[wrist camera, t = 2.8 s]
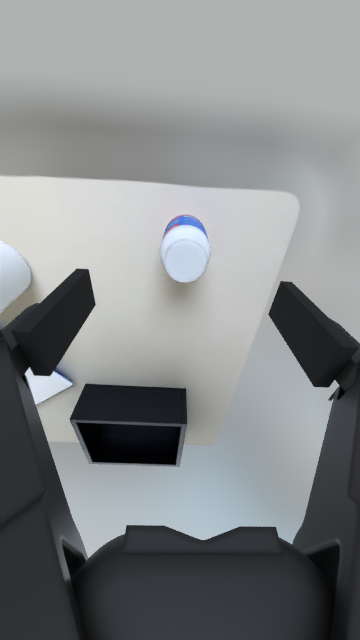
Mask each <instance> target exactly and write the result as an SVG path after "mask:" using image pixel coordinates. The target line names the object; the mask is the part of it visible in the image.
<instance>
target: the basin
mask: <svg viewBox="0 0 360 640" xmlns="http://www.w3.org/2000/svg"><path fill="white" fill-rule="evenodd" d="M70 422H71V424H72V426H73V428H74V431H75V433H76V435H77V437H78V440H79V442H80V444H81V446H82V449H83V451H84V453H85V456H86V458H87V460H88V462H89V464H112V465H113V464H114V465H143V466H145V465H146V466H173V467H174V466H176V467H179V466H180V461H181V455H182V450H183V444H184V438H185V432H186V426H187V407H186V389H182V388H161V387H139V386H118V385H97V384H85V386H84V389H83V391H82V393H81V395H80V397H79V400H78V402H77V404H76V406H75V408H74V411H73V413H72V415H71V417H70Z"/></svg>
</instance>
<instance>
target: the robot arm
mask: <svg viewBox="0 0 360 640" xmlns="http://www.w3.org/2000/svg"><path fill="white" fill-rule="evenodd" d="M94 306H95V300H94V294H93V289H92V284H91V279H90V274H89V269H76V270H75V271H74V272H73V273H72V274H71V275H70V276H69V277H67V278H66V279H65V280H64V281H63V282H62V283H61V284H60V285H59V286H58V287H57V288H56V289H55V290H54V291H53V292H51V293H50V294H49V295H48V296H47V297H46V298H45V299H44V300H43V301H42V302H41V303H36V304H34V305H32V306H30V307H28V308H26V309H25V310H24V311H23V312H22V313H21V314H20V315H18V316H17V317H16V318H15V320H13V321H12V322H10V323H9V324H8V325H7V326H6V327H5V328H4V329H2V330H0V640H360V343H358V342H357V341H356V340H355V339H354V338H353V337H352V336H350V334H349V333H348V332H347V331H345V329H344V328H343V327H342V326H340V325H339V324H338V323H336V322H335V321H333V320H331V319H329V318H328V317H327V316H326V315H325V314H324V313H323V312H322V311H321V310H320V309H319V308H318V307H317V306H316V305H315V304H314V303H313V302H312V301H310V300H309V299H308V298H307V297H306V296H305V295H304V294H303V293H302V292H301V291H300V290H299V289H298V288H297V287H296V286H295V285H294V284H293V283H292V282H284V281H281V282H280V285H279V288H278V290H277V293H276V295H275V298H274V301H273V303H272V306H271V309H270V311H269V316H270V318H271V319H272V321H273V322H274V324H275V326H276V327H277V329H278V330H279V332H280V334H281V335H282V337H283V338H284V340H285V341H286V343H287V345H288V346H289V348H290V349H291V351H292V353H293V354H294V356H295V357H296V359H297V360H298V362H299V364H300V365H301V367H302V368H303V370H304V372H305V373H306V375H307V376H308V378H309V379H310V381H311V383H312V384H313V386H314V387H329V386H330V385H331V384H332V382H333V381H334V380H336V381H337V383H338V384H339V385H340V386H339V387H338V388H337V389H336V391H335V392H334V393H333V394H332V395H331V397H330V398H329V400H330V401H331V400H332V399H333V404H332V408H331V412H330V416H329V420H328V424H327V429H326V432H325V436H324V440H323V444H322V449H321V453H320V457H319V461H318V465H317V469H316V473H315V477H314V482H313V486H312V489H311V494H310V498H309V502H308V506H307V510H306V514H305V518H304V521H303V523H302V526H301V527H300V529H299V531H298V532H297V534H296V536H295V538H294V541H293V544H290V543H288V542H287V541H284V540H283V539H281V538H279V537H278V533H277V530H276V527H238V528H235V529H233V530H230V531H228V532H225V533H222V534H220V535H218V536H215V537H212V538H210V539H207V540H199V539H197V538H194V537H191V536H189V535H186V534H184V533H181V532H179V531H176V530H174V529H171V528H168V527H166V526H140V525H139V526H138V525H137V526H136V525H127V526H126V533H125V534H124V535H121V536H118V537H116V538H115V539H113V540H111V541H109V542H108V543H106V544H105V545H103V546H102V547H101V548H99V549H98V550H97V551H96V552H95V553H94V554H93V555H92V556H91V557H89V558H88V556H87V554H86V551H85V547H84V545H83V542H82V539H81V537H80V534H79V532H78V530H77V528H76V525H75V523H74V521H73V518H72V516H71V513H70V509H69V506H68V503H67V500H66V497H65V494H64V491H63V488H62V485H61V482H60V479H59V475H58V472H57V469H56V466H55V463H54V460H53V457H52V454H51V451H50V448H49V445H48V441H47V438H46V435H45V432H44V429H43V426H42V423H41V420H40V417H39V414H38V411H37V407H36V404H35V401H34V398H33V395H32V392H31V389H30V386H29V383H28V380H27V377H26V375H25V373H26V371H27V370H28V369H29V367H30V369H31V371H32V373H33V375H34V376H51V374H52V373H53V371H54V370H55V368H56V366H57V365H58V363H59V362H60V360H61V359H62V357H63V355H64V354H65V352H66V351H67V349H68V347H69V346H70V344H71V343H72V341H73V340H74V338H75V336H76V335H77V333H78V332H79V330H80V329H81V327H82V325H83V324H84V322H85V321H86V319H87V317H88V316H89V314H90V313H91V311H92V310H93V308H94Z"/></svg>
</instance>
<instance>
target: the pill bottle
mask: <svg viewBox="0 0 360 640" xmlns="http://www.w3.org/2000/svg"><path fill="white" fill-rule="evenodd" d="M210 255H211V247H210V243H209V240H208V237H207V234H206V231H205V229H204V226H203V225H202V223H201V222H200V221H199V220H198V219H197V218H196V217H194V216H191V215H179V216H177V217H175V218H174V219H172V220H171V221H170V222H169V224H168V225H167V227H166V229H165V232H164V236H163V239H162V242H161V247H160V257H161V260H162V263H163V265H164V266H165V269H166V271H167V273H168V274H169V276H170V277H171V278H173V279H174V280H176V281H178V282H183V283H188V282H192V281H194V280H196V279H198V278H199V277H200V276H201V275H202V274H203V272H204V270H205V268H206V266H207V264H208V262H209V260H210Z"/></svg>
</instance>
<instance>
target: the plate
mask: <svg viewBox="0 0 360 640" xmlns="http://www.w3.org/2000/svg"><path fill="white" fill-rule="evenodd" d="M25 375H26V377H27V380H28V383H29V386H30V389H31V392H32V395H33V398H34V401H35V404H38V403H40V402H42V401H44V400H46V399H48V398H49V397H51V396H53V395H55V394H57V393H59V392H60V391H62V390H64V389H66V388H68V387H70V386H72V385H73V383H72V382H71V381H70V380H68V379H67V378H65V377H64V376H62V375H61V374H59V373H58V372H56V371H55V370H54V371H53V373H52V374H51V376H34V375H33V373H32V371H31V369H30V367H29V369H28V370H27V371H26V373H25Z"/></svg>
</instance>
